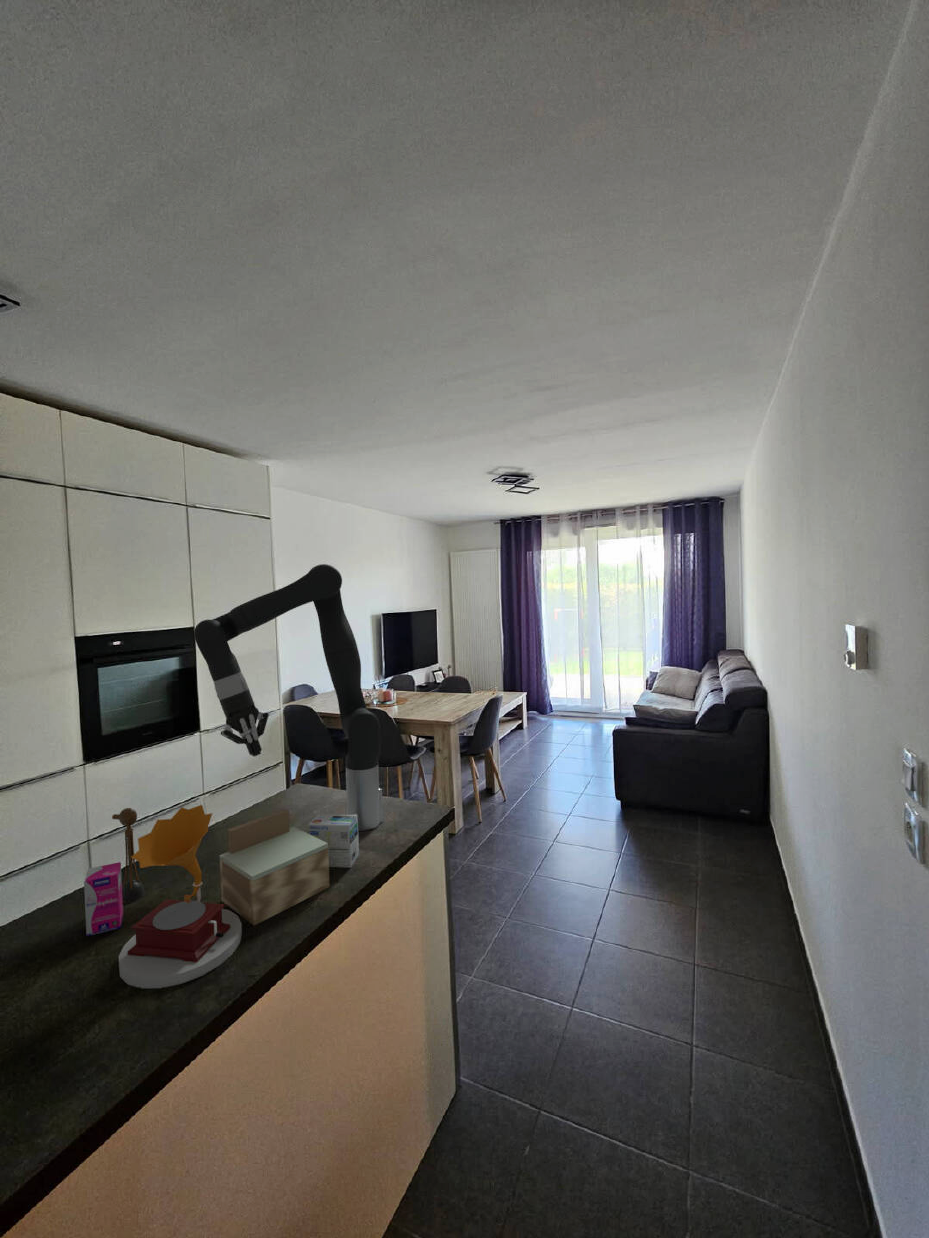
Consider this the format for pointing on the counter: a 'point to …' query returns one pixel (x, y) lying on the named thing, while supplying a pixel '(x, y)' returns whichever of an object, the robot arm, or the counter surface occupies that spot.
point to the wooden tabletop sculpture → (133, 887)
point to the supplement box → (103, 898)
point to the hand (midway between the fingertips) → (257, 754)
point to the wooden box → (274, 887)
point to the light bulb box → (337, 837)
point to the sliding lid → (268, 845)
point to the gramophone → (178, 913)
